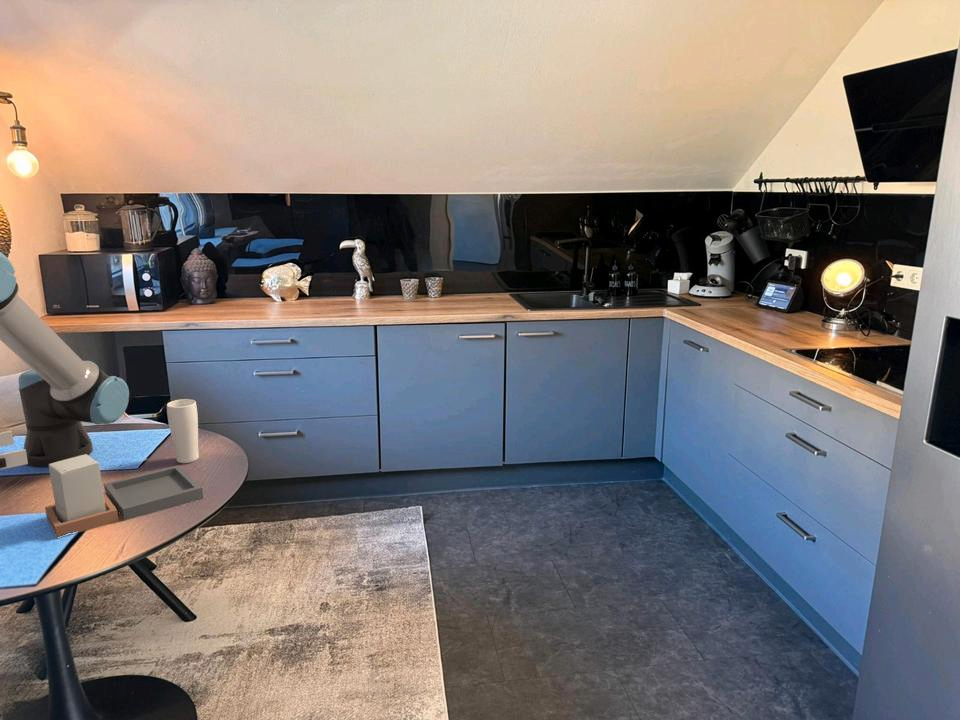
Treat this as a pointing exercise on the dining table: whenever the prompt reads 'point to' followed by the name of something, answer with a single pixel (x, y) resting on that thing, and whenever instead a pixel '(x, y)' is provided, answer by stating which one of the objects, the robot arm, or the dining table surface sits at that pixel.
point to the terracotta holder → (82, 519)
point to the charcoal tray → (152, 491)
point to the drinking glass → (184, 429)
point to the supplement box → (77, 488)
